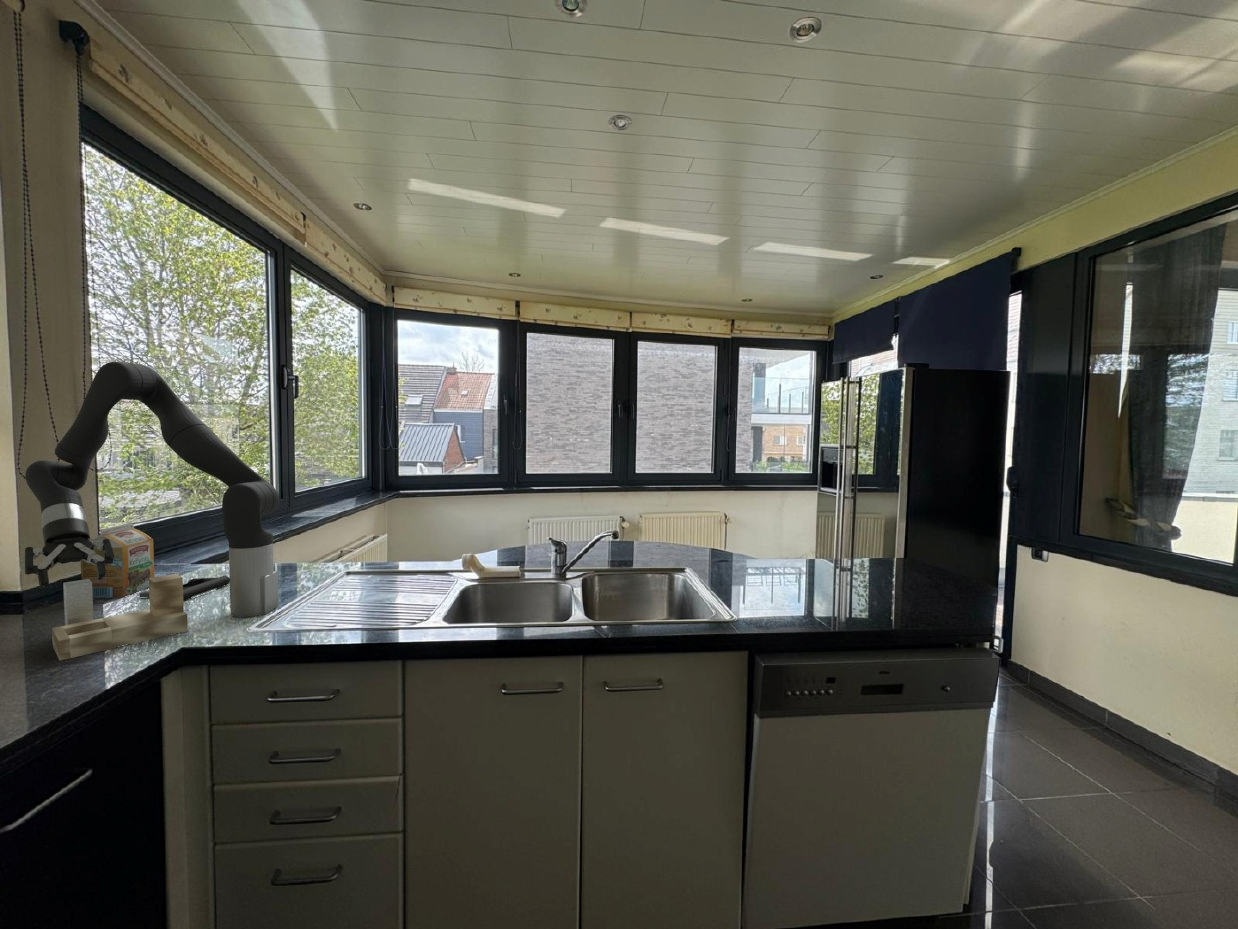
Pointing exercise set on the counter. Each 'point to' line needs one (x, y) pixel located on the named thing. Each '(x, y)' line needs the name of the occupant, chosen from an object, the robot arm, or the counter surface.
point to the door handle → (199, 586)
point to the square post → (78, 601)
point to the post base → (127, 623)
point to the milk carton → (122, 563)
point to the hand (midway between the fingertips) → (74, 581)
